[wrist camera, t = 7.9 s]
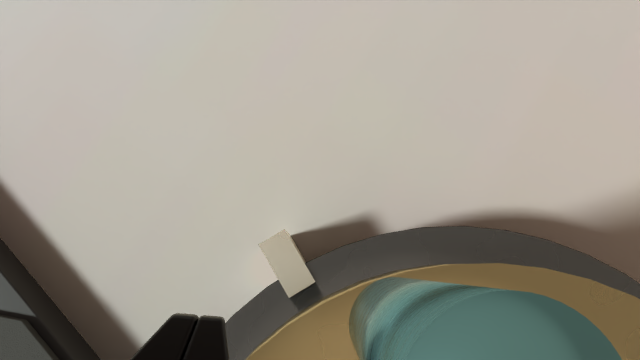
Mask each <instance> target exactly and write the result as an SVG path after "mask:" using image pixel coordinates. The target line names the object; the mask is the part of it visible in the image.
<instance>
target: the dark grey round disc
mask: <svg viewBox="0 0 640 360" xmlns="http://www.w3.org/2000/svg"><path fill="white" fill-rule="evenodd" d="M259 246H260V248H261V250H262V252H263V253H264V255H265V257H266V259H267V260H268V262H269V264H270V266H271V267H272V269H273V271H274V273H275V274H276V276H277V278H278V280H277V281H276V282H274V283H273V284H271V285H269V286H268V287H266V288H265V289H264V290H263V291H262V292H260V293H259V294H258V295H257V296H256V297H254V298H253V299H252V300H251V301H250V302H248V303H247V304H246V305H245V306H244V307H242V308H241V309H240V310H239V311H237V312H236V313H235V314H234V315H233V316H232V317H231V318H230V319H229V320H228V321H227V322H226V323H225V328H226V336H227V345H228V353H229V360H245V359H246V358H247V357H248V356H249V355H250V354H251V352H252V351H253V350H254V349H255V348H256V347H257V346H258V345H259V344H260V343H261V342H262V341H263V340H264V339H265V338H267V337H268V336H269V335H270V334H271V333H273V332H274V331H275V330H276V329H278V328H279V327H280V326H281V325H282V324H284V323H285V322H286V321H287V320H289V319H290V318H291V317H292V316H294V315H295V314H297V313H299V312H300V311H302V310H303V309H305V308H307V307H308V306H310V305H312V304H313V303H315V302H316V301H318V300H320V299H321V298H323V297H324V296H327V295H329V294H331V293H333V292H336V291H338V290H340V289H342V288H344V287H347V286H349V285H351V284H353V283H356V282H358V281H361V280H364V279H368V278H371V277H374V276H378V275H381V274H384V273H388V272H391V271H395V270H401V269H408V268H414V267H420V266H427V265H443V264H483V263H503V264H512V265H521V266H530V267H539V268H546V269H550V270H555V271H559V272H563V273H567V274H571V275H575V276H579V277H583V278H587V279H591V280H593V281H596V282H599V283H601V284H604V285H606V286H609V287H612V288H614V289H617V290H620V291H622V292H625V293H627V294H630V295H633V296H635V297H637V298H639V299H640V284H639V283H638V282H636V281H635V280H633V279H632V278H630V277H629V276H627V275H626V274H624V273H622V272H620V271H618V270H616V269H614V268H612V267H610V266H609V265H607V264H605V263H603V262H601V261H599V260H597V259H595V258H593V257H591V256H589V255H587V254H585V253H582V252H579V251H576V250H574V249H571V248H568V247H565V246H563V245H560V244H557V243H555V242H552V241H549V240H546V239H542V238H537V237H533V236H529V235H524V234H520V233H516V232H511V231H507V230H499V229H488V228H478V227H468V226H452V227H423V228H416V229H410V230H404V231H398V232H392V233H386V234H381V235H378V236H374V237H371V238H368V239H365V240H361V241H358V242H355V243H352V244H348V245H345V246H342V247H340V248H337V249H335V250H333V251H331V252H329V253H326V254H324V255H322V256H320V257H318V258H316V259H313V260H311V261H309V262H307V263H306V261H305V260H304V258H303V256H302V254H301V253H300V251H299V249H298V248H297V246H296V244H295V242H294V241H293V239H292V237H291V236H290V234H289V233H288V232H287V231H286V230H285V229H284V230H283V231H281V232H279V233H277V234H276V235H274V236H272V237H271V238H269V239H267V240H266V241H264V242H262V243H261V244H259Z"/></svg>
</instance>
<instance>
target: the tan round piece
mask: <svg viewBox="0 0 640 360" xmlns="http://www.w3.org/2000/svg"><path fill="white" fill-rule="evenodd" d="M245 360H640V299H639V298H637V297H635V296H633V295H630V294H627V293H625V292H622V291H620V290H617V289H614V288H612V287H609V286H606V285H604V284H601V283H599V282H596V281H593V280H591V279H587V278H583V277H579V276H575V275H571V274H567V273H563V272H559V271H555V270H550V269H546V268H539V267H530V266H521V265H512V264H503V263H483V264H443V265H427V266H420V267H414V268H408V269H401V270H395V271H391V272H388V273H384V274H381V275H378V276H374V277H371V278H368V279H364V280H361V281H358V282H356V283H353V284H351V285H349V286H347V287H344V288H342V289H340V290H338V291H336V292H333V293H331V294H329V295H327V296H324V297H323V298H321V299H320V300H318V301H316V302H315V303H313V304H312V305H310V306H308V307H307V308H305V309H303V310H302V311H300V312H299V313H297V314H295V315H294V316H292V317H291V318H290V319H289V320H287V321H286V322H285V323H284V324H282V325H281V326H280V327H279V328H278V329H276V330H275V331H274V332H273V333H271V334H270V335H269V336H268V337H267V338H265V339H264V340H263V341H262V342H261V343H260V344H259V345H258V346H257V347H256V348H255V349H254V350H253V351H252V352H251V354H250V355H249V356H248V357H247V358H246V359H245Z"/></svg>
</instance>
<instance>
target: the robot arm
mask: <svg viewBox="0 0 640 360" xmlns="http://www.w3.org/2000/svg"><path fill="white" fill-rule="evenodd" d="M130 360H229V353H228V345H227V336H226V328H225V320H224V318H223V317H218V316H206V315H204V316H201V317H200V318H199V317H198V316H197V315H193V314H180V313H177V314H174V315H172V316H171V317H170V318H169V319H168V320H167V321H166V322H165V323H164V324H163V325H162V326H161V327H160V328H159V329H158V331H157V332H156V333H155V334H154V335H153V336H152V337H151V338H150V339H149V340H148V341H147V342H146V343H145V344H144V345H143V347H142V348H141V349H140V350H139V351H138V352H137V353H136V354H135V355H134V356H133V357H132V358H131V359H130Z"/></svg>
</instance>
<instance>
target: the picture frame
mask: <svg viewBox="0 0 640 360" xmlns="http://www.w3.org/2000/svg"><path fill="white" fill-rule="evenodd" d="M0 360H101V359H100V358H99V357H98V356H97V355H96V353H95V352H94V351H93V350H92V349H91V347H90V346H89V345H88V344H87V342H86V341H85V340H84V339H83V338H82V336H81V335H80V334H79V333H78V332H77V330H76V329H75V328H74V327H73V326H72V324H71V323H70V322H69V321H68V319H67V318H66V317H65V316H64V315H63V313H62V312H61V311H60V310H59V309H58V307H57V306H56V305H55V304H54V303H53V301H52V300H51V299H50V298H49V297H48V295H47V294H46V293H45V292H44V290H43V289H42V288H41V287H40V286H39V284H38V283H37V282H36V281H35V280H34V278H33V277H32V276H31V275H30V274H29V272H28V271H27V270H26V269H25V267H24V266H23V265H22V264H21V263H20V261H19V260H18V259H17V258H16V257H15V255H14V254H13V253H12V252H11V251H10V249H9V248H8V247H7V246H6V245H5V243H4V242H3V241H2V240H1V238H0Z"/></svg>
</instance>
